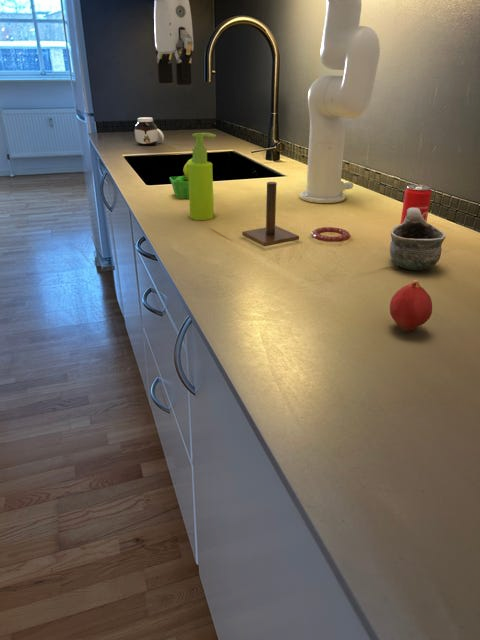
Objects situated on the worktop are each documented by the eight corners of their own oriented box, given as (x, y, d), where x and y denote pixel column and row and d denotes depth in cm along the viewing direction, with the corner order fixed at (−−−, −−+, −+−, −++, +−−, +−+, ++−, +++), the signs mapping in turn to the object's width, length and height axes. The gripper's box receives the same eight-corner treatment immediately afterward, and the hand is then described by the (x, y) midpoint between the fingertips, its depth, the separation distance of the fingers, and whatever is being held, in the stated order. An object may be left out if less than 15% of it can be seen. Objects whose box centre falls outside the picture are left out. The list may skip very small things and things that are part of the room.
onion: (381, 321, 77) (388, 272, 74) (418, 320, 78) (426, 271, 74) (394, 340, 72) (402, 288, 68) (434, 339, 72) (444, 287, 69)
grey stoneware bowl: (395, 276, 93) (403, 223, 89) (375, 253, 104) (381, 205, 100) (446, 275, 94) (457, 222, 89) (421, 252, 105) (429, 204, 100)
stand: (275, 231, 118) (277, 176, 112) (299, 242, 111) (302, 184, 105) (242, 238, 113) (242, 181, 108) (264, 249, 107) (265, 189, 101)
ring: (332, 231, 118) (333, 224, 117) (357, 241, 112) (358, 234, 111) (303, 236, 114) (304, 230, 113) (327, 247, 108) (328, 240, 107)
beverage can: (423, 240, 112) (432, 185, 106) (422, 248, 107) (432, 190, 102) (398, 238, 113) (406, 183, 108) (396, 245, 109) (405, 188, 103)
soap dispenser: (214, 221, 125) (212, 135, 116) (187, 219, 127) (183, 134, 118) (220, 214, 131) (218, 131, 121) (193, 213, 132) (190, 131, 123)
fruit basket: (207, 191, 153) (206, 152, 148) (215, 198, 146) (214, 157, 141) (169, 194, 150) (167, 154, 145) (176, 201, 142) (173, 159, 137)
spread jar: (134, 145, 235) (131, 118, 229) (142, 142, 245) (140, 116, 239) (159, 146, 233) (157, 119, 228) (166, 142, 243) (164, 116, 237)
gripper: (205, -13, 98) (208, 85, 106) (170, -5, 112) (174, 82, 119) (169, -16, 95) (174, 85, 103) (137, -7, 108) (144, 82, 116)
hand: (174, 83), depth 111 cm, fingers open, 9 cm apart
